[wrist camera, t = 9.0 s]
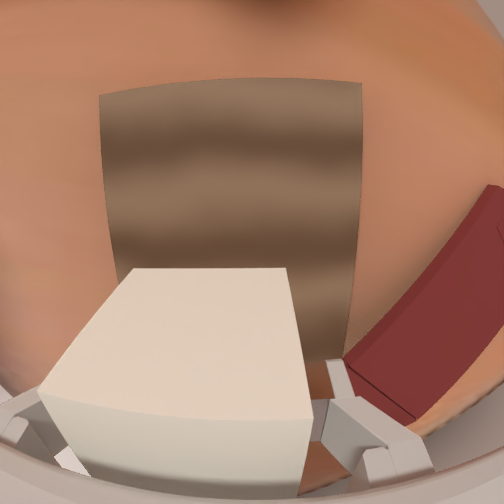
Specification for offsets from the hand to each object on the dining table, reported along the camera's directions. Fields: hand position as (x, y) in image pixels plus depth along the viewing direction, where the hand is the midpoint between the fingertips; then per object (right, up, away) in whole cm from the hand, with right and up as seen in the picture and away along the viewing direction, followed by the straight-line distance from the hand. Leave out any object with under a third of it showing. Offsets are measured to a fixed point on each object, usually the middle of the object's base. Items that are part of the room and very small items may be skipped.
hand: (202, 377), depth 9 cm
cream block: (0, +1, +2) cm, 2 cm away
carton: (+18, -2, +16) cm, 24 cm away
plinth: (0, +5, +14) cm, 15 cm away
